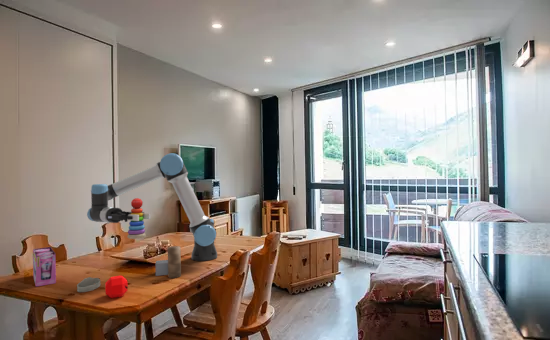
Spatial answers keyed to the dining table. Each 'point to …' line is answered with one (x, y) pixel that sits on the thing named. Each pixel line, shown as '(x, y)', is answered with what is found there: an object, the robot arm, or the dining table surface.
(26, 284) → the dining table surface
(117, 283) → the ball
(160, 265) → the grey cube
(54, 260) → the gum box
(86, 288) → the grey oval piece
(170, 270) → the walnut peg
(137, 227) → the stacking toy
